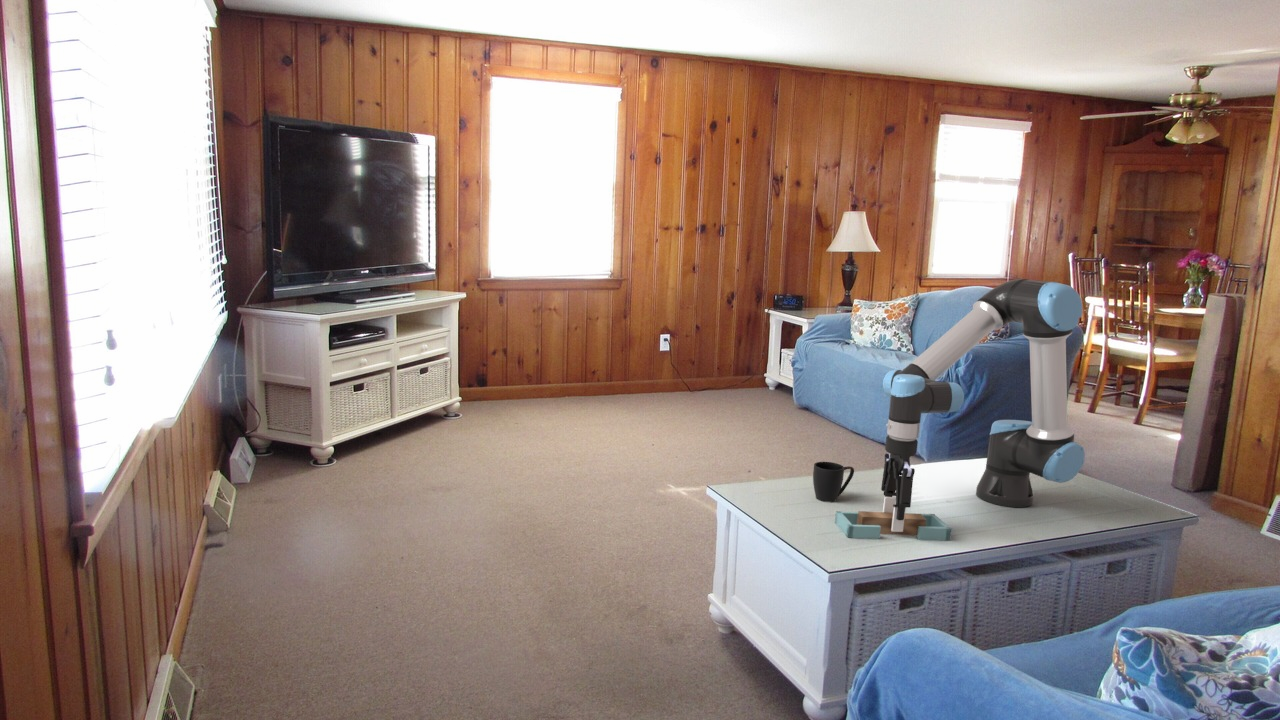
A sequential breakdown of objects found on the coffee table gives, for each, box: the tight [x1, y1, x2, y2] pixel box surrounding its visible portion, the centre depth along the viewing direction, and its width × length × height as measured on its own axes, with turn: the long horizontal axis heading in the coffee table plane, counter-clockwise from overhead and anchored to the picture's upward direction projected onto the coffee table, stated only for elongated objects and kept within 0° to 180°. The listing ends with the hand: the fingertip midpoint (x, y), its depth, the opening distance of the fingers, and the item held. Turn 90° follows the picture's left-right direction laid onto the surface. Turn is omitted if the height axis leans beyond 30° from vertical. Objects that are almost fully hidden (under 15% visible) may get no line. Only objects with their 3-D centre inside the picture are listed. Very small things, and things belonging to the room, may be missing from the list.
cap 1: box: [834, 510, 881, 540], centre depth 215 cm, size 8×10×3 cm
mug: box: [812, 461, 855, 503], centre depth 238 cm, size 8×12×10 cm
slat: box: [857, 510, 926, 536], centre depth 216 cm, size 16×4×4 cm, turn 91°
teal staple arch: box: [909, 512, 953, 541], centre depth 216 cm, size 8×10×3 cm
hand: (892, 526), depth 216 cm, fingers open, 6 cm apart
